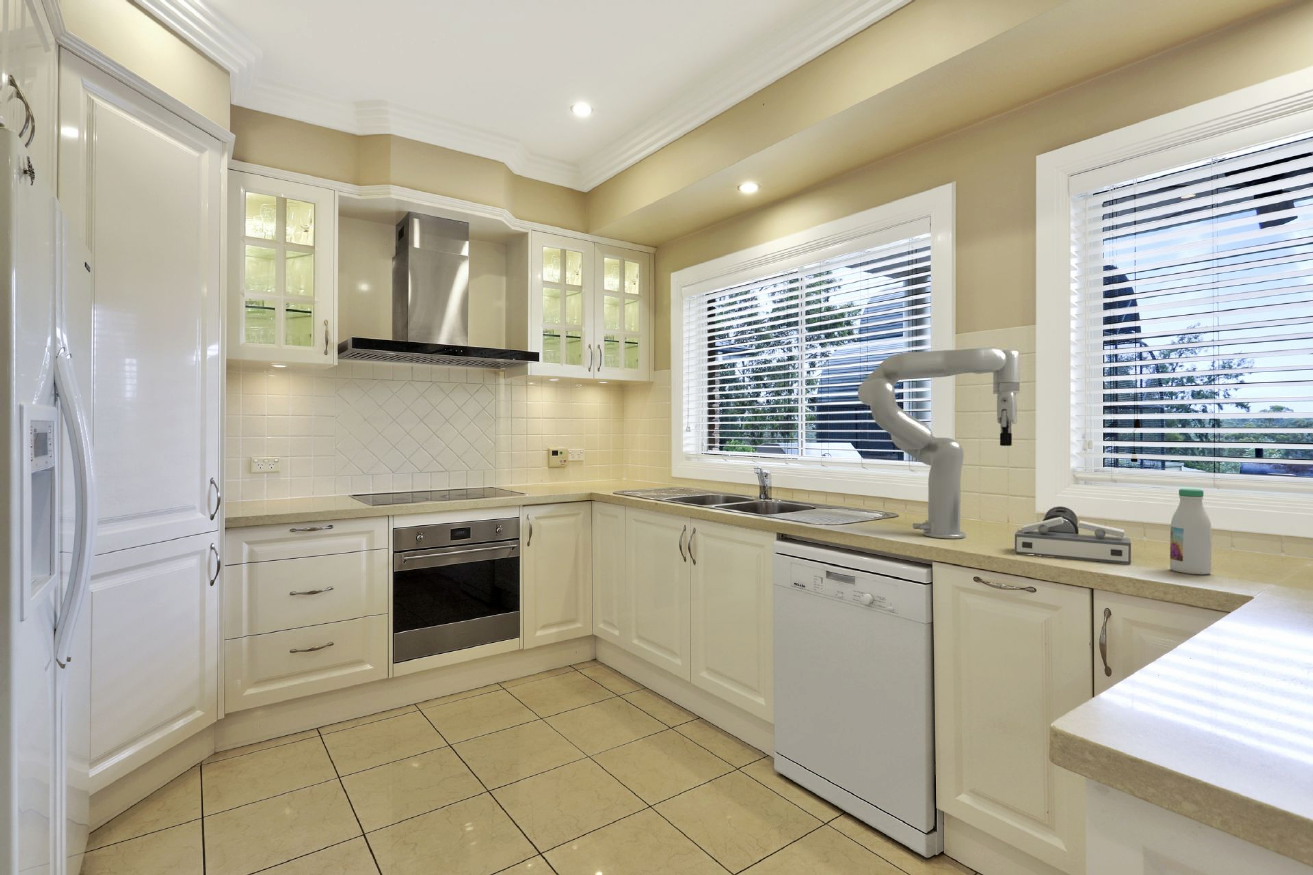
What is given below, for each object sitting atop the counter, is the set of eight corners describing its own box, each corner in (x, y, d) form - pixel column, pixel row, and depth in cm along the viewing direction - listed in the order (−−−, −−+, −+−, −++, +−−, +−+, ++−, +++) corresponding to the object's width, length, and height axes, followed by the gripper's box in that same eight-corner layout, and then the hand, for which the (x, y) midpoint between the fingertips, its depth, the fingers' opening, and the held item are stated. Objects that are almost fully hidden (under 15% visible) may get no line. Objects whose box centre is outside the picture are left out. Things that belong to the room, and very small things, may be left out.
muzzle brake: (1078, 539, 205) (1078, 506, 204) (1078, 553, 181) (1078, 516, 181) (1043, 536, 210) (1043, 504, 210) (1038, 550, 186) (1038, 514, 186)
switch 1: (1024, 537, 182) (1021, 528, 182) (1026, 535, 186) (1022, 525, 186) (1064, 528, 176) (1060, 518, 177) (1065, 526, 181) (1061, 516, 181)
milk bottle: (1212, 571, 158) (1213, 489, 158) (1210, 576, 152) (1211, 491, 152) (1171, 566, 163) (1172, 487, 163) (1168, 571, 158) (1169, 489, 157)
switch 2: (1076, 532, 175) (1079, 522, 175) (1077, 530, 179) (1079, 520, 179) (1121, 542, 169) (1124, 532, 169) (1121, 539, 173) (1123, 529, 173)
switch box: (1014, 553, 180) (1014, 534, 180) (1018, 548, 188) (1018, 529, 188) (1130, 564, 166) (1130, 543, 166) (1129, 558, 173) (1129, 538, 173)
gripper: (1017, 387, 202) (1016, 446, 202) (1021, 389, 214) (1021, 445, 215) (990, 388, 206) (989, 446, 206) (996, 390, 219) (995, 445, 219)
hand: (1005, 445), depth 211 cm, fingers closed
